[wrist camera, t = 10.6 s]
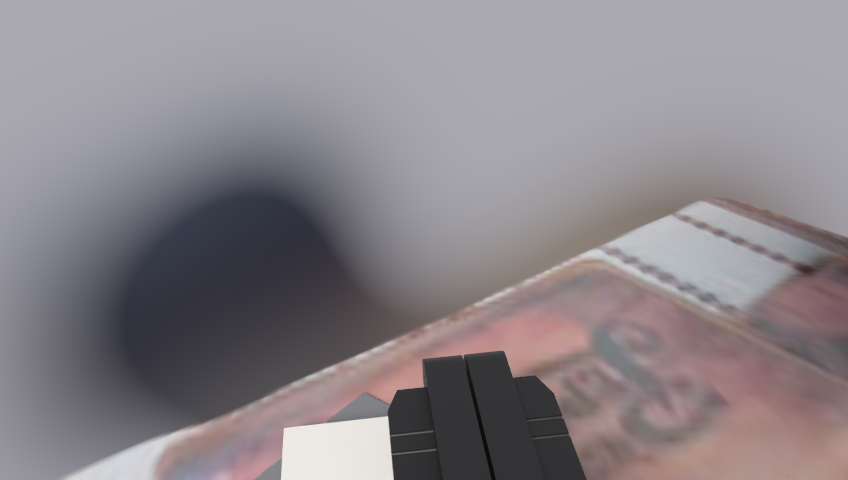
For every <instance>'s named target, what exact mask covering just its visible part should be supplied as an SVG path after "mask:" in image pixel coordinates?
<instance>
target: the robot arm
mask: <svg viewBox="0 0 848 480" xmlns="http://www.w3.org/2000/svg"><path fill="white" fill-rule="evenodd" d="M423 381H424V388H414V389H404V390H397V392H396V394H395V396H394V398H393V401H392V403H391V405H390V407H389V409H388V422H389V433H390V444H391V455H392V467H393V478H394V480H586V477H585V475H584V472H583V469H582V467H581V464H580V462H579V459H578V456H577V454H576V451H575V448H574V446H573V443H572V440H571V438H570V437H569V434H568V430H567V427H566V425H565V422H564V419H562V414H561V411H560V409H559V406H558V404H557V401H556V398H555V396H554V393H553V392H552V391H551V390H550V389H549V388H548V387H547V386H545V385H544V384H543V383H542V382H541V381H540V380H539V379H538V378H537V377H536V376H527V377H517V378H513V377H512V374H511V371H510V368H509V365H508V361H507V358H506V355H505V353H504V351H496V352H486V353H476V354H467V355H464V360H463V358H462V355H458V356H449V357H439V358H429V359H423Z"/></svg>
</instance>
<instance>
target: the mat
mask: <svg viewBox="0 0 848 480" xmlns="http://www.w3.org/2000/svg"><path fill="white" fill-rule="evenodd" d="M389 407H390V405H388V404H386V403H384V402H382V401H380V400H378V399H376V398H374V397H372V396H370V395H368V394H366V393H362V394H361V395H360V396H359V397H357V398H356V399H355V400H354V401H352V402H351V403H350V404H349V405H347V406H346V407H345V408H344V409H342V410H341V411H340V412H339V413H337V414H336V415H335V416H334V417H332V418H331V419H330V420H329V421H327V422H326V423H334V422H342V421H351V420H360V419H369V418H377V417H386V416H388V409H389ZM281 469H282V458H281V459H280V460H279V461H277V462H276V463H275V464H274V465H272V466H271V467H270V468H269V469H267V470H266V471H265V472H264V473H262V474H261V475H260V476H259V477H257V478H256V479H255V480H281Z"/></svg>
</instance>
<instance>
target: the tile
mask: <svg viewBox="0 0 848 480" xmlns="http://www.w3.org/2000/svg"><path fill="white" fill-rule="evenodd" d="M281 480H394V478H393V467H392V455H391V444H390V433H389V422H388V416H386V417H377V418H369V419H360V420H351V421H342V422H334V423H325V424H316V425H307V426H298V427H290V428H284V438H283V454H282V469H281Z"/></svg>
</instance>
